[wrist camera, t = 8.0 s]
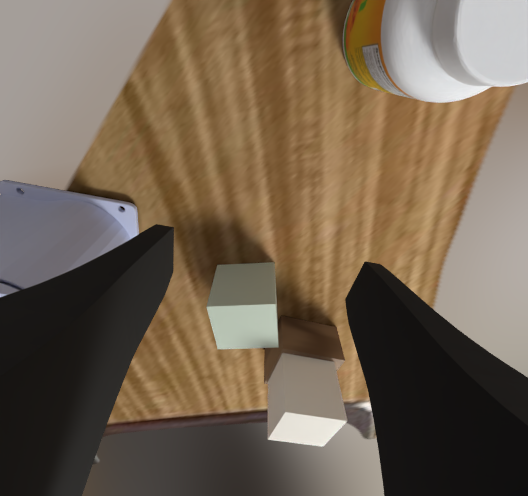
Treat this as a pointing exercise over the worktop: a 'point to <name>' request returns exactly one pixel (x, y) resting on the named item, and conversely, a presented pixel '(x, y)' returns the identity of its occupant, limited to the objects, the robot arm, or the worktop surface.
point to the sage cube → (244, 306)
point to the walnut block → (304, 343)
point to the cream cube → (304, 401)
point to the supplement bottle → (437, 46)
